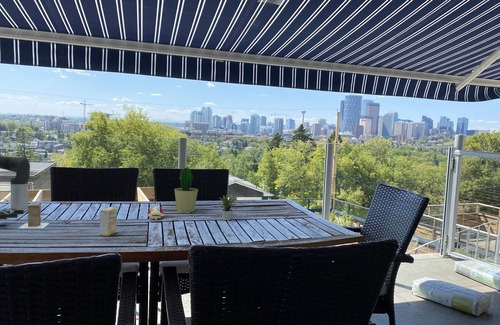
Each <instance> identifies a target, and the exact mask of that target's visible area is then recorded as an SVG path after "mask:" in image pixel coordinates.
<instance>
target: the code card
mask: <svg viewBox="0 0 500 325" xmlns="http://www.w3.org/2000/svg"><path fill="white" fill-rule="evenodd" d="M49 224H50V222H41V224H40V225H39V226H38V227H28V222H26V223H24V224H22V225H21V226H19V227H18V229H44V228H45V227H47V226H48V225H49Z"/></svg>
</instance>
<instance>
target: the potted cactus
mask: <svg viewBox="0 0 500 325" xmlns="http://www.w3.org/2000/svg"><path fill="white" fill-rule="evenodd" d="M193 179H194V177H193V173H192V169H191V168H190V167H183V168H181V170H180V173H179V180H180V184H179V185H180V186H181V187H177V188H176V187H175V188H174V195H175V204H176V212H177V211H178V212H177V213H180V212H192V213H194V212H195V209H196V204H197V198H198V197H197V196H198V192H199V189H198V188H193V187H191V186H192V181H193ZM193 211H194V212H193Z"/></svg>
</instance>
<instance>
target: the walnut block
mask: <svg viewBox="0 0 500 325" xmlns="http://www.w3.org/2000/svg"><path fill="white" fill-rule="evenodd" d="M41 207H42V206H41V204H39V203H37V204H35V203H31V204H28V211H27V221H28V222H27V223H28V227H38V226H39V225H40V224H41V223H42V222H41V219H42V218H41V216H42V215H41V211H42V210H41Z"/></svg>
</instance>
